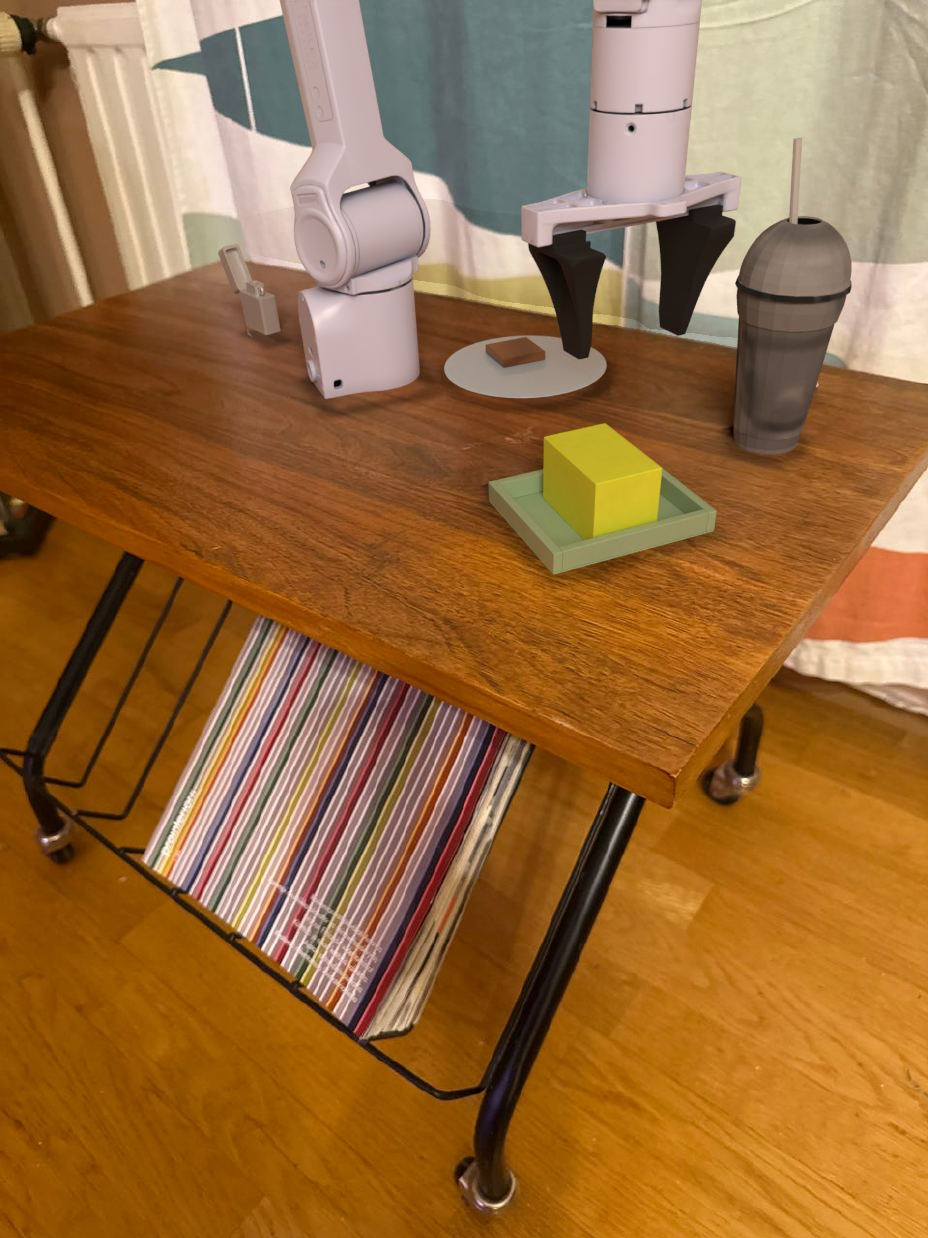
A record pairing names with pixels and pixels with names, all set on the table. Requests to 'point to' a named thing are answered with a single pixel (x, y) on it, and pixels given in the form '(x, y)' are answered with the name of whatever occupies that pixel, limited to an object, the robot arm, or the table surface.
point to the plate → (524, 370)
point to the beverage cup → (786, 323)
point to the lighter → (250, 293)
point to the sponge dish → (569, 550)
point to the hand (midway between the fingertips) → (625, 342)
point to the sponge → (600, 481)
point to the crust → (515, 352)
